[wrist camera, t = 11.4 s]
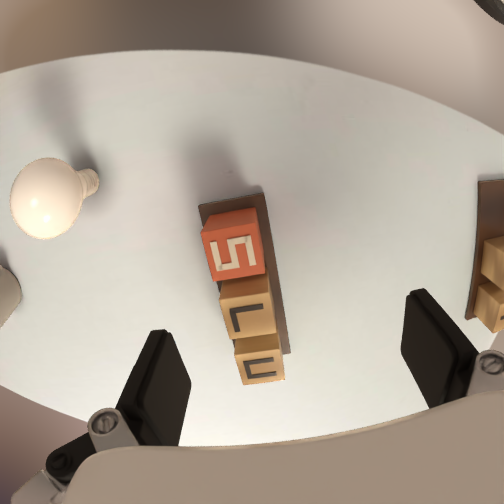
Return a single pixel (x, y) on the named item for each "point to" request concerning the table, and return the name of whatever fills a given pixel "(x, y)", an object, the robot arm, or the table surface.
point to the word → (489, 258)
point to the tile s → (233, 244)
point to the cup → (8, 294)
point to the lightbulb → (49, 196)
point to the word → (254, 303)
